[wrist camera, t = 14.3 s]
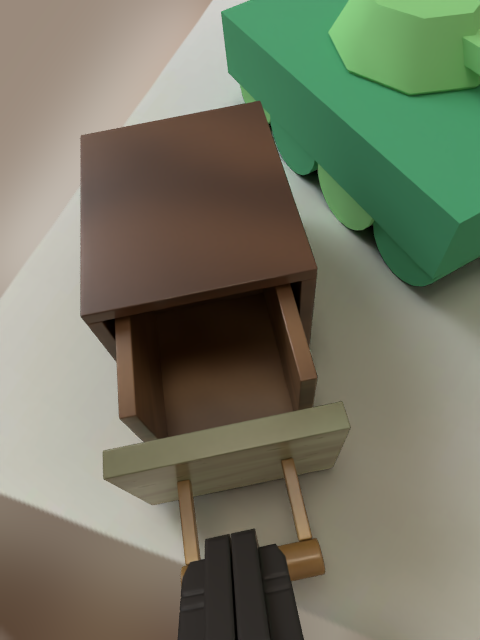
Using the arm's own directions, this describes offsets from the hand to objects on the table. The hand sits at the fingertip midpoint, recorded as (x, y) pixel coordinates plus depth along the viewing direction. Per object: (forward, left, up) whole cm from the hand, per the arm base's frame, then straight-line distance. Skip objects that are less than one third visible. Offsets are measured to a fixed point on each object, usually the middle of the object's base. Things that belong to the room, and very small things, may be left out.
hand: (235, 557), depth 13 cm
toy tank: (-10, +30, -12) cm, 34 cm away
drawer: (-6, +4, -11) cm, 14 cm away
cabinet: (-15, +10, -12) cm, 22 cm away
